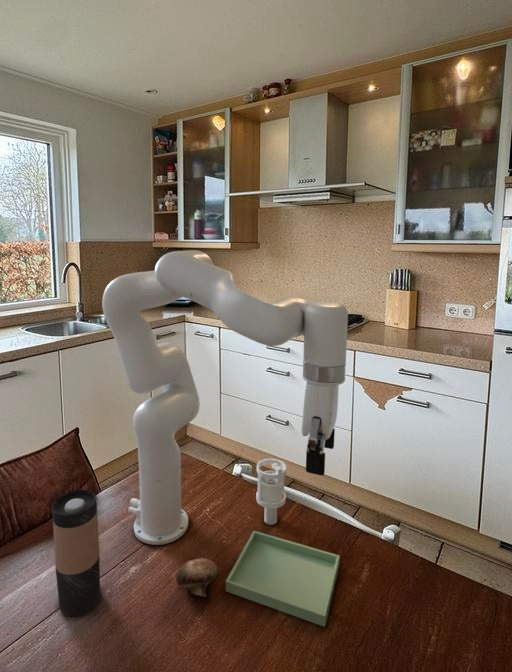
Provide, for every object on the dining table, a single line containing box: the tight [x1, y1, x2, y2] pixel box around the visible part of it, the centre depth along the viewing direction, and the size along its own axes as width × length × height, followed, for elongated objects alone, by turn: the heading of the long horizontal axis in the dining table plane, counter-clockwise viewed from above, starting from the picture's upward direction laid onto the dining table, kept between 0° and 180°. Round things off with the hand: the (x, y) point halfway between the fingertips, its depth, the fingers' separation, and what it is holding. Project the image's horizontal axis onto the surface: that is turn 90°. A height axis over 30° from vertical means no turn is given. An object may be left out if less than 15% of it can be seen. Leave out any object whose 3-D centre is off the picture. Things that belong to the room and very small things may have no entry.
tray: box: [225, 530, 341, 628], centre depth 84 cm, size 19×15×2 cm
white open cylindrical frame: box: [255, 458, 287, 526], centre depth 100 cm, size 7×7×15 cm
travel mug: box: [52, 489, 101, 618], centre depth 78 cm, size 8×8×20 cm
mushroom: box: [175, 557, 219, 598], centre depth 81 cm, size 8×8×6 cm
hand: (320, 459), depth 78 cm, fingers open, 9 cm apart
